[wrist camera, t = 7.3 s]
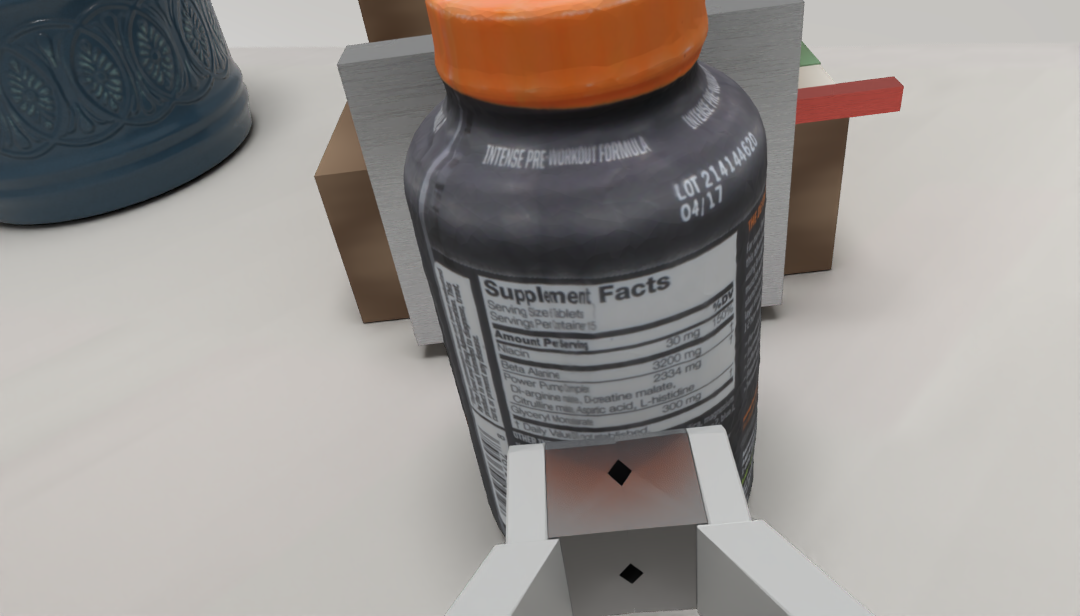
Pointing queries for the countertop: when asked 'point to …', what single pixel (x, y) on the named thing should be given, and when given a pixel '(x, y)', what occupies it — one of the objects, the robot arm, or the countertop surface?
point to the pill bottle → (590, 225)
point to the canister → (111, 103)
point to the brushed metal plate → (730, 46)
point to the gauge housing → (362, 242)
